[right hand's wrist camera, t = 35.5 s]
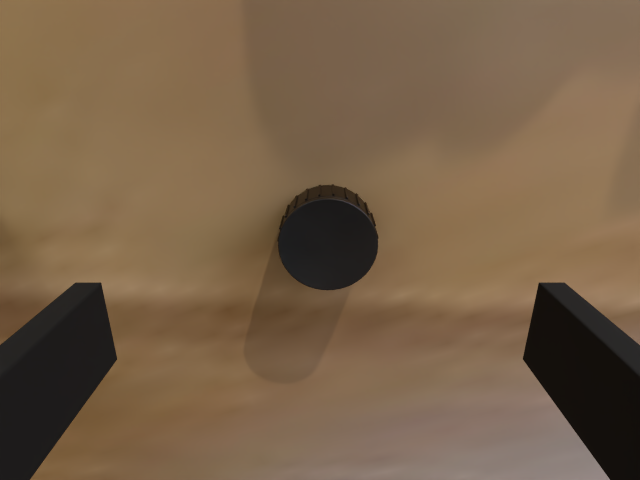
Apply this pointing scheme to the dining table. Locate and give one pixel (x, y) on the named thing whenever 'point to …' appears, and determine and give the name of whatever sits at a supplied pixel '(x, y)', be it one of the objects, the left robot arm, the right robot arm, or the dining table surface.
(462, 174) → the dining table surface
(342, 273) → the cap
